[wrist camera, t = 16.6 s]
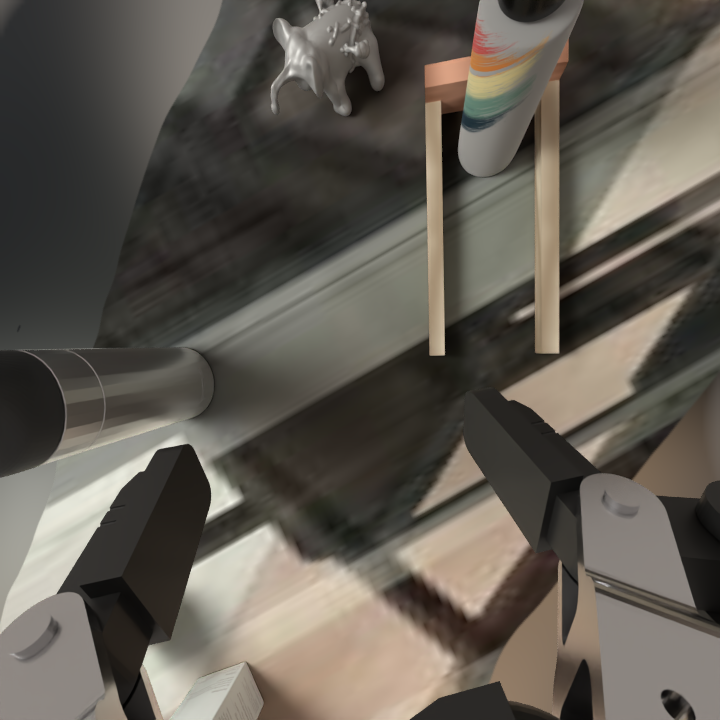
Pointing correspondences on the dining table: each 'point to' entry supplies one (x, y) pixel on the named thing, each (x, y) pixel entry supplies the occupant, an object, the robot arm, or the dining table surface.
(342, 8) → the elephant statuette
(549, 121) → the guide lane
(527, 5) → the lotion bottle
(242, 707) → the skincare box
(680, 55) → the dining table surface
